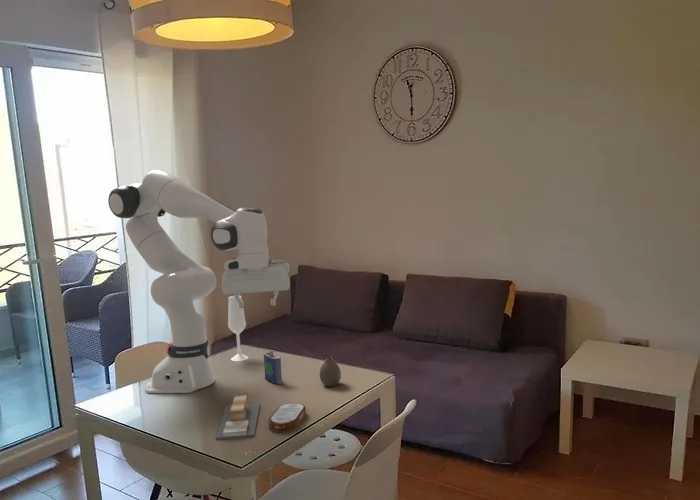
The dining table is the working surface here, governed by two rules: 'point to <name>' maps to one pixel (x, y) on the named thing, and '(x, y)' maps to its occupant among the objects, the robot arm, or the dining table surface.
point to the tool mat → (250, 416)
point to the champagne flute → (236, 324)
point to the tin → (287, 417)
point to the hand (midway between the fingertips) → (257, 306)
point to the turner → (237, 418)
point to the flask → (272, 368)
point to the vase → (330, 373)
